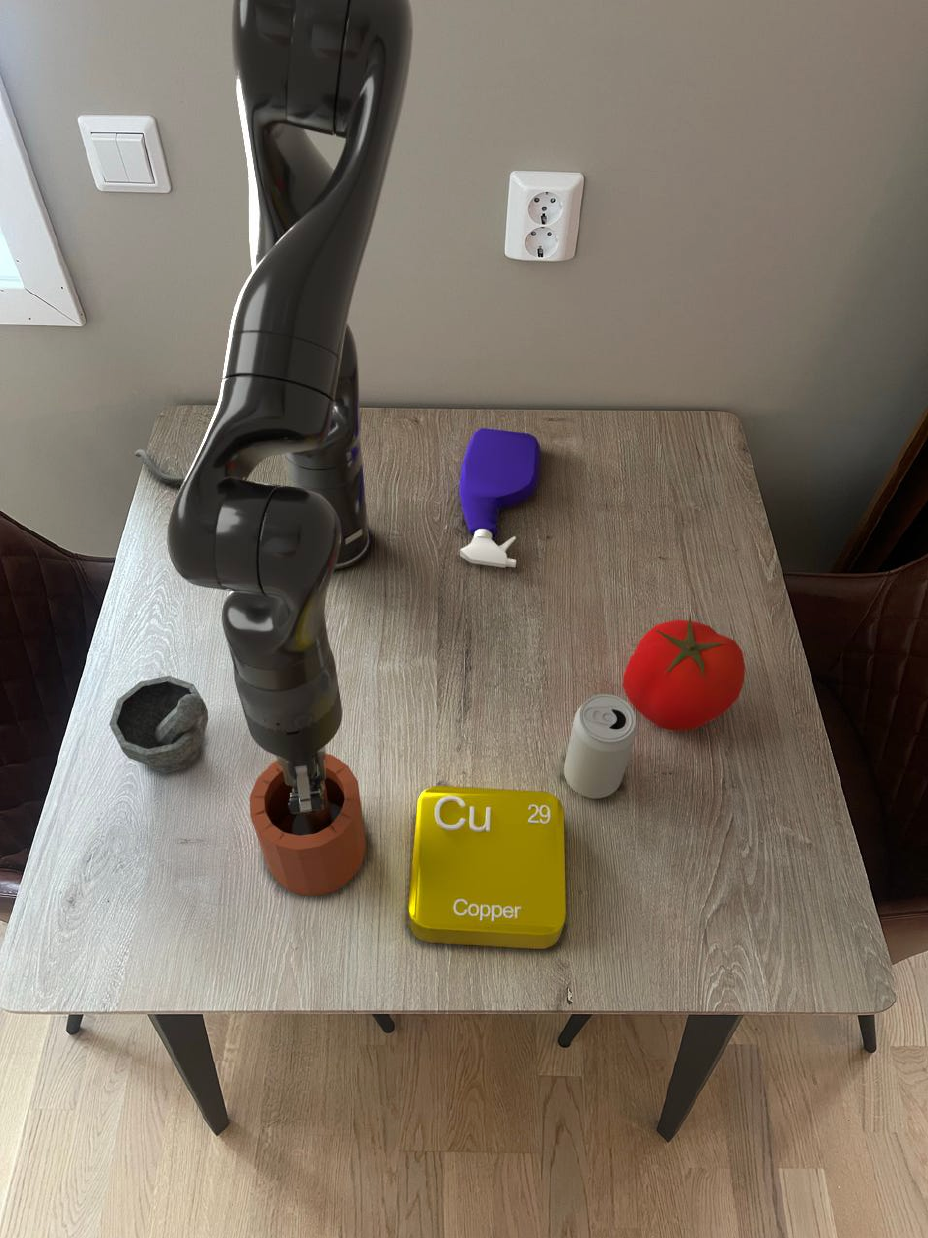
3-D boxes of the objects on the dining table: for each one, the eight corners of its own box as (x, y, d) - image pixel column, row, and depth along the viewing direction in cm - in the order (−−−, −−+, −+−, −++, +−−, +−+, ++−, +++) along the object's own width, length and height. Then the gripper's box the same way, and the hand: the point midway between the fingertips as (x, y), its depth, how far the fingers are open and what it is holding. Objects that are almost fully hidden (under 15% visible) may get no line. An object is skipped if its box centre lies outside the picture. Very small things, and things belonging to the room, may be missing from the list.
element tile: (407, 942, 90) (406, 924, 86) (419, 802, 99) (418, 781, 95) (561, 951, 90) (567, 934, 86) (559, 810, 99) (564, 789, 95)
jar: (245, 859, 95) (226, 809, 86) (311, 786, 100) (299, 733, 91) (322, 916, 91) (310, 870, 83) (385, 837, 97) (381, 787, 88)
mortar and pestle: (109, 768, 101) (76, 708, 91) (156, 701, 106) (129, 637, 97) (200, 802, 98) (176, 744, 89) (243, 731, 104) (224, 670, 95)
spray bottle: (469, 424, 133) (442, 550, 118) (545, 433, 132) (527, 561, 118) (468, 440, 135) (442, 565, 121) (543, 448, 135) (525, 576, 120)
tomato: (607, 662, 111) (623, 601, 102) (716, 656, 112) (741, 595, 103) (628, 751, 104) (646, 694, 95) (744, 743, 105) (773, 686, 96)
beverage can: (618, 807, 99) (637, 750, 90) (558, 795, 100) (572, 737, 91) (623, 756, 103) (642, 696, 94) (566, 745, 104) (580, 685, 95)
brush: (284, 851, 93) (261, 772, 80) (321, 809, 95) (304, 727, 83) (327, 882, 91) (310, 806, 78) (363, 838, 94) (352, 759, 81)
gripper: (236, 622, 75) (267, 734, 88) (241, 773, 66) (274, 871, 80) (330, 610, 76) (346, 723, 89) (346, 758, 67) (361, 858, 81)
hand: (312, 793), depth 84 cm, fingers closed on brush, 2 cm apart
